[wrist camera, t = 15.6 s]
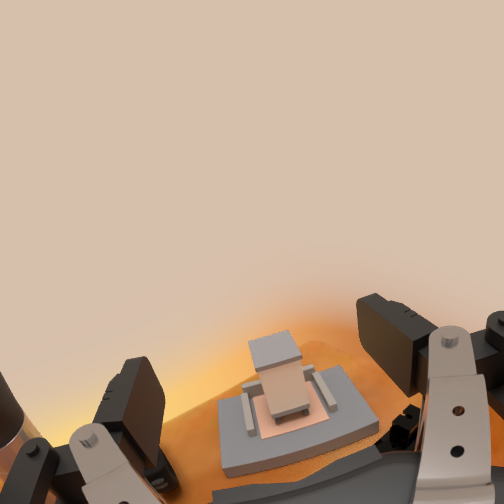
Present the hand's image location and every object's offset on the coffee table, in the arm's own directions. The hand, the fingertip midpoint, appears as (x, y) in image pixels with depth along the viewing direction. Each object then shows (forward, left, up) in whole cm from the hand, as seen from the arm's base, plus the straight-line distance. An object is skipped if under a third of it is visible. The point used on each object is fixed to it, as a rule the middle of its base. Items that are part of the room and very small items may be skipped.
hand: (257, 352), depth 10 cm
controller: (-17, +16, -27) cm, 36 cm away
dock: (+2, +21, -27) cm, 34 cm away
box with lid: (+2, +21, -24) cm, 32 cm away
